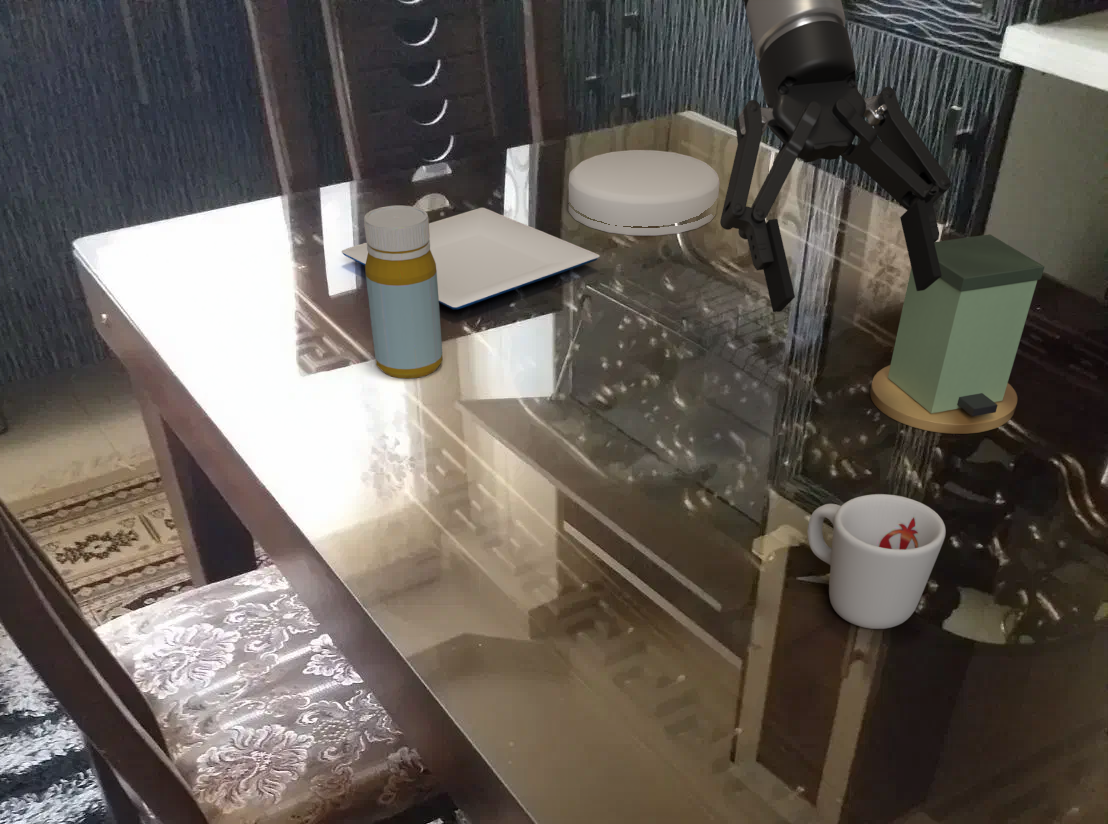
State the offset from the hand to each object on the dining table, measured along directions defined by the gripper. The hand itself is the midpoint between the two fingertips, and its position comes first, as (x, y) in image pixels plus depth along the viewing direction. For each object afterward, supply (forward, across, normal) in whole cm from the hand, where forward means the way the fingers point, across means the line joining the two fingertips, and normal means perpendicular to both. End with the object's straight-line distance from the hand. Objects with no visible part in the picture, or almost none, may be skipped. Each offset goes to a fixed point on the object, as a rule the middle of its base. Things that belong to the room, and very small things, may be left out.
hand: (857, 294), depth 96 cm
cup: (+25, +8, +4) cm, 27 cm away
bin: (+6, -16, -14) cm, 22 cm away
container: (-36, -8, -58) cm, 69 cm away
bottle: (-11, +32, -33) cm, 47 cm away
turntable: (+6, -16, -16) cm, 23 cm away
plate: (-28, +19, -49) cm, 60 cm away
